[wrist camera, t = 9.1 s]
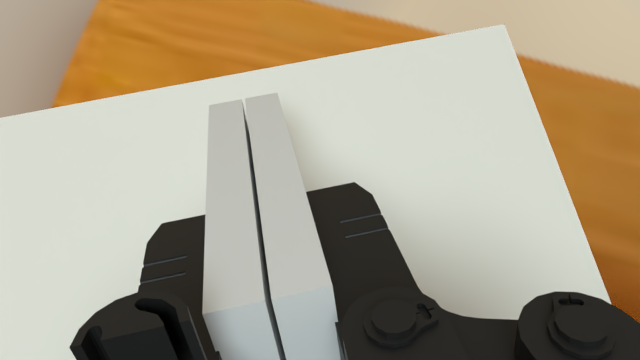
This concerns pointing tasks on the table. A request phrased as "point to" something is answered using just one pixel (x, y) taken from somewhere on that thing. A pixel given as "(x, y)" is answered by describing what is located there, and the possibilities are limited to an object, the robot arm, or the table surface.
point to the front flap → (317, 173)
